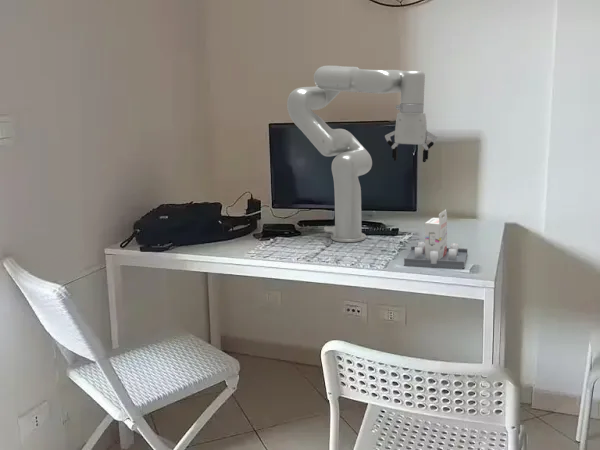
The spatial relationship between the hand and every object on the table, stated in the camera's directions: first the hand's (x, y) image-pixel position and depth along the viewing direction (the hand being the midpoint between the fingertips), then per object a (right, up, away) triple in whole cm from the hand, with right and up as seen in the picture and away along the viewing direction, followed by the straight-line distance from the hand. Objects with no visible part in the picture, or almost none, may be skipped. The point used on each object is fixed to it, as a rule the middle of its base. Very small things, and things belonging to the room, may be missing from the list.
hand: (409, 161), depth 221 cm
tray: (+6, -33, -11) cm, 35 cm away
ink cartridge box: (+6, -32, -11) cm, 34 cm away
